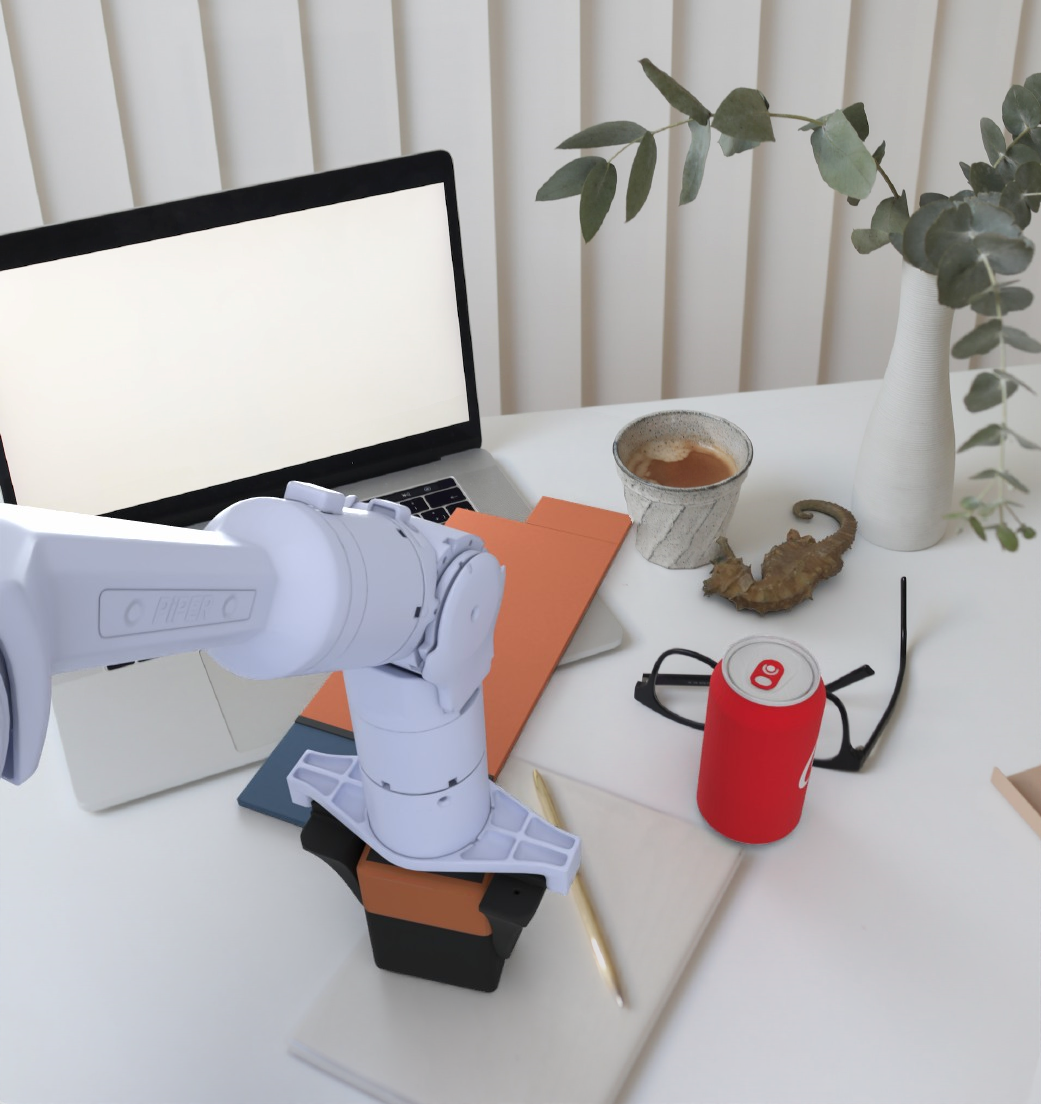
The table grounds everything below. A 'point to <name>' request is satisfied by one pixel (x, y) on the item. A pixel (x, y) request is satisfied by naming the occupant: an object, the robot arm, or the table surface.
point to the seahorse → (784, 565)
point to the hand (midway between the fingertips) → (442, 917)
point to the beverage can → (760, 738)
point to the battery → (429, 923)
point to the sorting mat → (519, 638)
